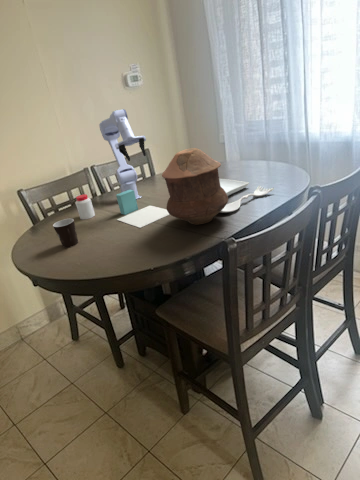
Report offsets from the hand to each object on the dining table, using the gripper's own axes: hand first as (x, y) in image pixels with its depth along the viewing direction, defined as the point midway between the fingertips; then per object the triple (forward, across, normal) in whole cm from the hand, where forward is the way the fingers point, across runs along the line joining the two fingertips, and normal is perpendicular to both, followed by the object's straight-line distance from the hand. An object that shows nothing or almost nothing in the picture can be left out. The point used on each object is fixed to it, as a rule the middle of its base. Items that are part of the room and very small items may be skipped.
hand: (137, 157), depth 160 cm
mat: (+25, -5, +10) cm, 27 cm away
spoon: (+39, +36, -4) cm, 54 cm away
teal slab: (+17, -10, +20) cm, 28 cm away
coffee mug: (+29, -41, +1) cm, 50 cm away
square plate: (+24, +32, +16) cm, 43 cm away
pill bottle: (+9, -30, +28) cm, 42 cm away
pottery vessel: (+41, +12, -9) cm, 44 cm away
